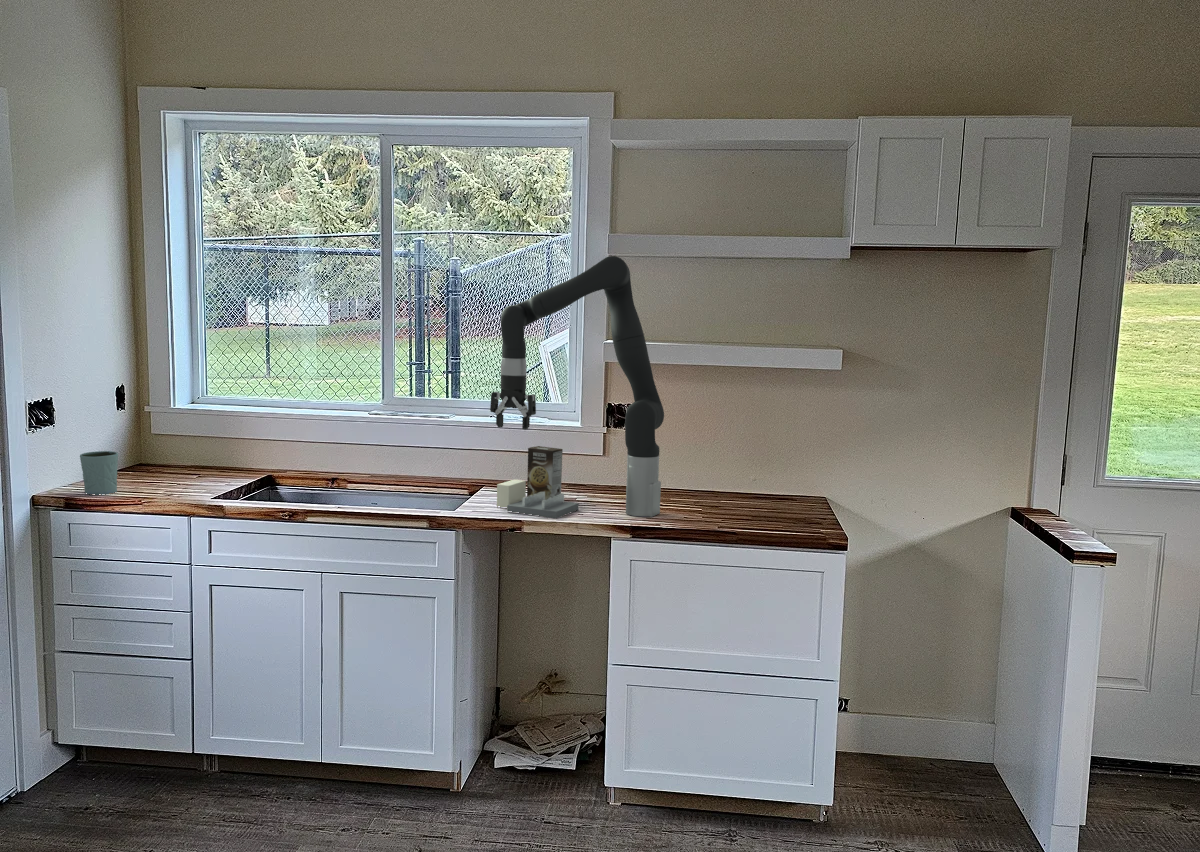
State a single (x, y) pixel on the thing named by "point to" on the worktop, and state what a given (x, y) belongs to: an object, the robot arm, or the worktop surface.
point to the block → (510, 492)
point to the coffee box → (544, 471)
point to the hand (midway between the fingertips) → (512, 428)
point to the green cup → (99, 472)
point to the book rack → (543, 505)
